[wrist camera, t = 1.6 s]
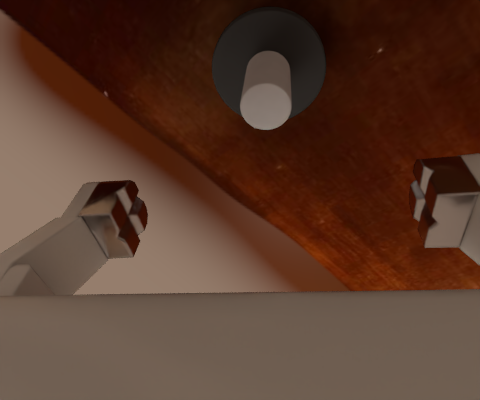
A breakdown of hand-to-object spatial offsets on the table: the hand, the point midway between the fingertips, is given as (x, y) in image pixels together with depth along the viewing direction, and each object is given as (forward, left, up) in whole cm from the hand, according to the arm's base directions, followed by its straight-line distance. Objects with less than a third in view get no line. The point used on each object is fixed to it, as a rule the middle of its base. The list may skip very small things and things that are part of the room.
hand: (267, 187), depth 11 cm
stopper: (0, 0, -11) cm, 11 cm away
